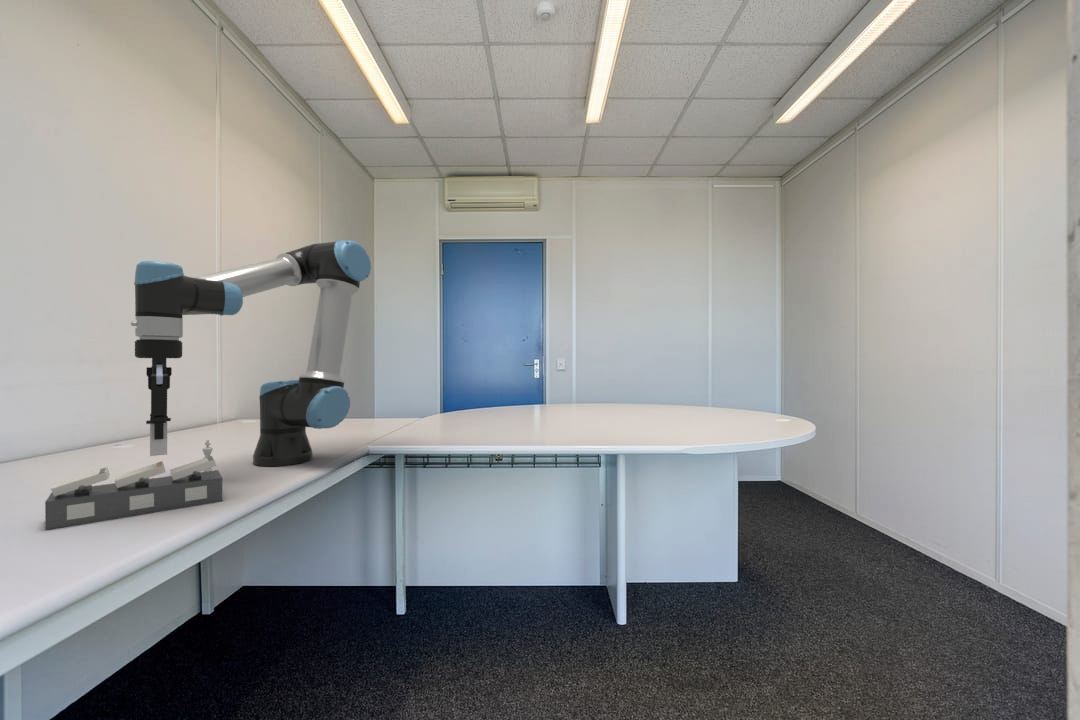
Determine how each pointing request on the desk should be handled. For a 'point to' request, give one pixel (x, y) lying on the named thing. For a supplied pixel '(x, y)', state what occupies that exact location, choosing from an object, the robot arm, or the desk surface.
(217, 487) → the rocker switch box
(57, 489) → the rocker
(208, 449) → the chess piece
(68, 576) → the desk surface
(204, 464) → the rocker
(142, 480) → the rocker
